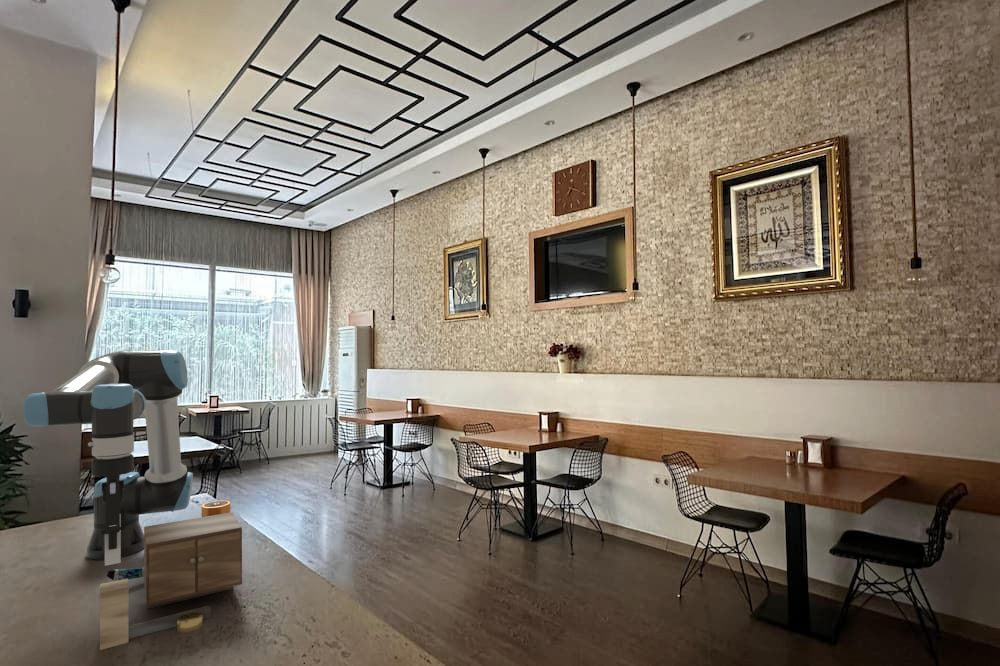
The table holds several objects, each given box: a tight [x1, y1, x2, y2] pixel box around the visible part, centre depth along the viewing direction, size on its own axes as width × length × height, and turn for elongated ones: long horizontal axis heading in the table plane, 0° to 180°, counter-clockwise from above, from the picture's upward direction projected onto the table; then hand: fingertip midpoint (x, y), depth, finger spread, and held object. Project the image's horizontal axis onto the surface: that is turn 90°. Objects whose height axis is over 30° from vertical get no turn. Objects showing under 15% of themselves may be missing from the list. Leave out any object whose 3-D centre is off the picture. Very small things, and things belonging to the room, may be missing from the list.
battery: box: [201, 500, 231, 517], centre depth 154 cm, size 7×7×20 cm
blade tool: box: [99, 578, 211, 651], centre depth 125 cm, size 5×21×12 cm, turn 125°
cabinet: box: [143, 511, 243, 609], centre depth 138 cm, size 16×20×18 cm
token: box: [176, 613, 203, 635], centre depth 126 cm, size 5×5×2 cm
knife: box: [106, 566, 144, 581], centre depth 155 cm, size 31×3×4 cm, turn 134°
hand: (113, 553), depth 121 cm, fingers open, 13 cm apart
